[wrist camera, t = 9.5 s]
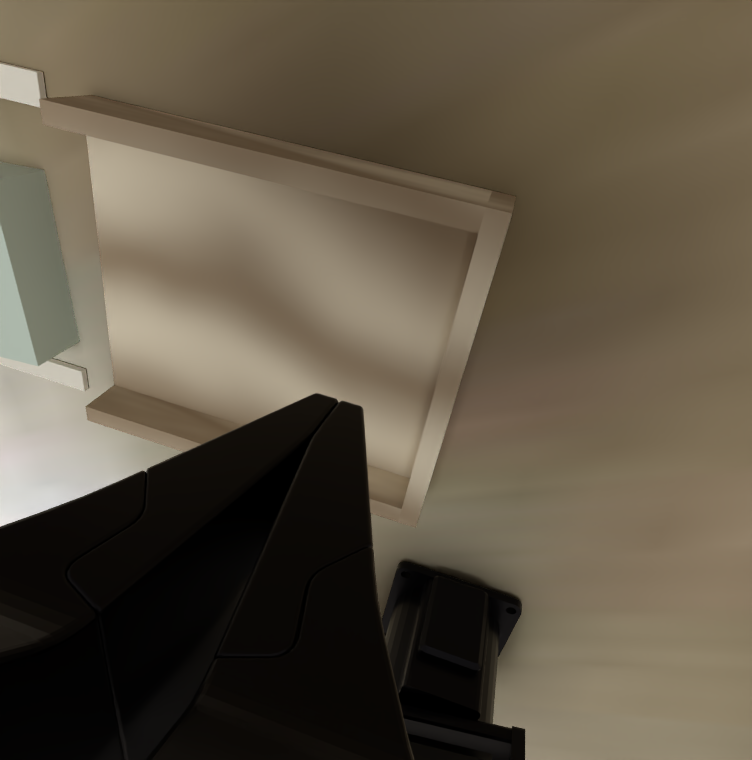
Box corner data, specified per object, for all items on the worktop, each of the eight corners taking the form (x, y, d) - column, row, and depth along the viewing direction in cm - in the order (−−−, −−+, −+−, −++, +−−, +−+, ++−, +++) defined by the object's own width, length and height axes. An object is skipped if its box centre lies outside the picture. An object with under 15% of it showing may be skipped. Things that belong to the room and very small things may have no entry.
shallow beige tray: (426, 489, 25) (416, 527, 23) (122, 393, 27) (87, 420, 25) (516, 196, 18) (512, 213, 16) (91, 95, 20) (38, 98, 18)
